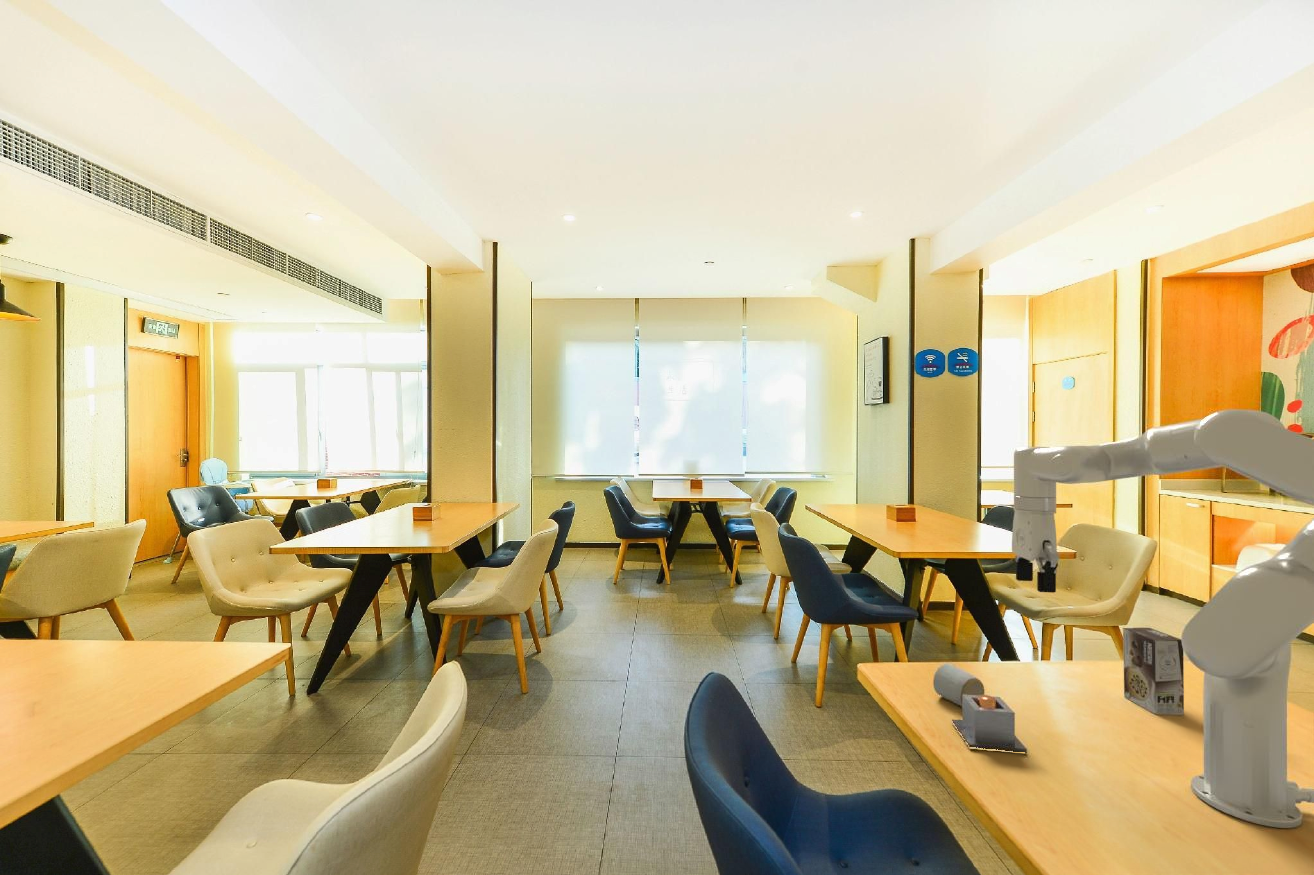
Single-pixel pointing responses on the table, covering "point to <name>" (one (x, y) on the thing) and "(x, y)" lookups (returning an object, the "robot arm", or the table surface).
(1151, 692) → the coffee box
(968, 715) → the grey square open box
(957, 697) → the ceramic mug
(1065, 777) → the table surface
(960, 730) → the post
